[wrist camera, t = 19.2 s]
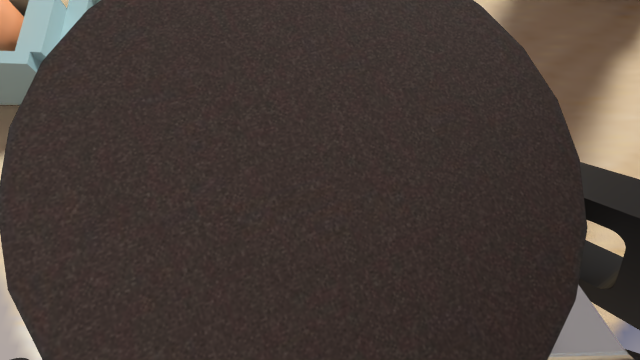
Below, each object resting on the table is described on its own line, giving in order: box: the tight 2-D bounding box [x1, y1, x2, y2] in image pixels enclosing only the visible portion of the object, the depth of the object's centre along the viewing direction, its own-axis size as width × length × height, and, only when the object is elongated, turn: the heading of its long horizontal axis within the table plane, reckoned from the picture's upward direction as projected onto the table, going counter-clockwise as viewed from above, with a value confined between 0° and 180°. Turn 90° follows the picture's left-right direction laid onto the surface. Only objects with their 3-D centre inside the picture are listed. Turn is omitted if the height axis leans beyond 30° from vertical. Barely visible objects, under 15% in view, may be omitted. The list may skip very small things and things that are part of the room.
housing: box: [0, 0, 100, 105], centre depth 19 cm, size 16×10×4 cm, turn 92°
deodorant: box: [0, 0, 587, 360], centre depth 11 cm, size 6×6×15 cm
